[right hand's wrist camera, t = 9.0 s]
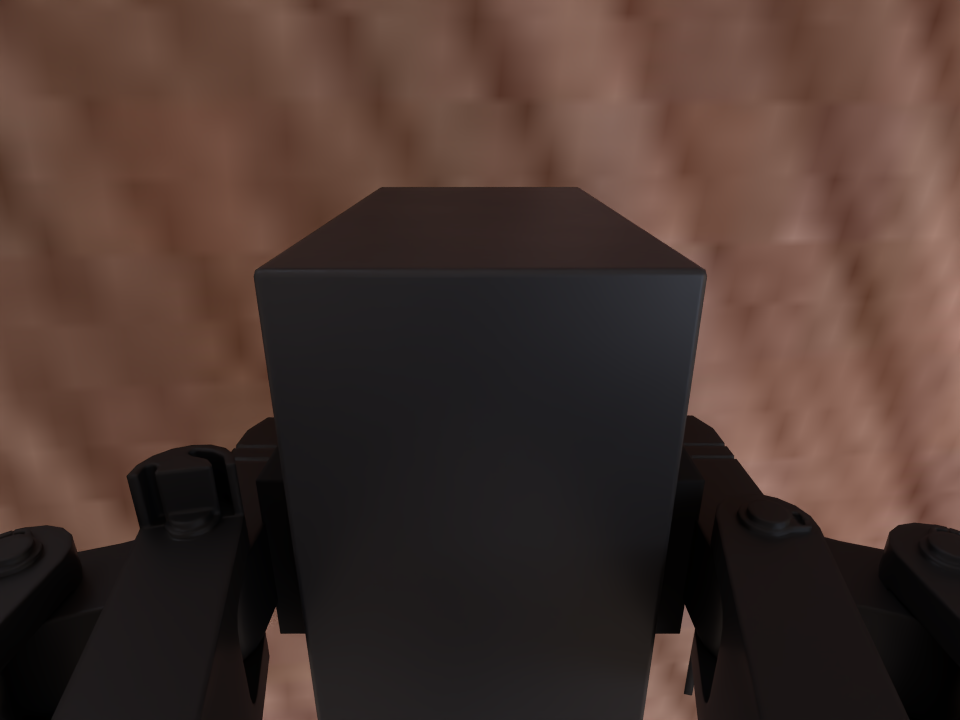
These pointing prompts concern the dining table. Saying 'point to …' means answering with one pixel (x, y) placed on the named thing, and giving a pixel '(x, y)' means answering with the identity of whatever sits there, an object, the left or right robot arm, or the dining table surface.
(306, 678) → the dining table surface
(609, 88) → the dining table surface
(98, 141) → the dining table surface
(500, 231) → the bar
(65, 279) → the dining table surface
